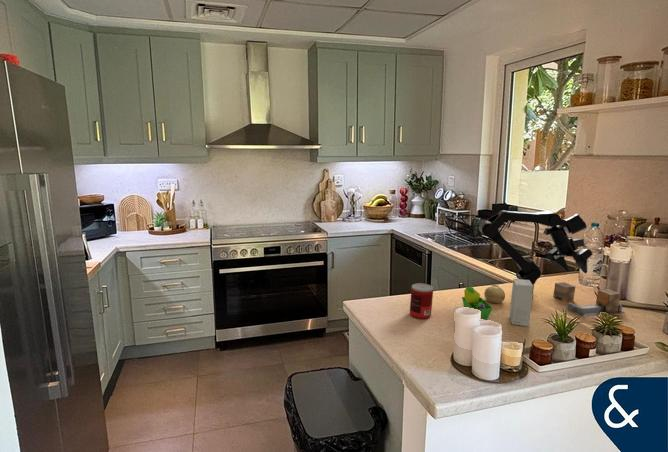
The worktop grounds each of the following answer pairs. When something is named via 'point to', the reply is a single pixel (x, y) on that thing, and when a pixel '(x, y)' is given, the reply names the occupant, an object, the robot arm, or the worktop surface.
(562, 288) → the grey stone block
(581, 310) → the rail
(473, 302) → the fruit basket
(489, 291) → the onion
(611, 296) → the taupe stone cube
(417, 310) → the canned food
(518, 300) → the skincare box
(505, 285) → the worktop surface
